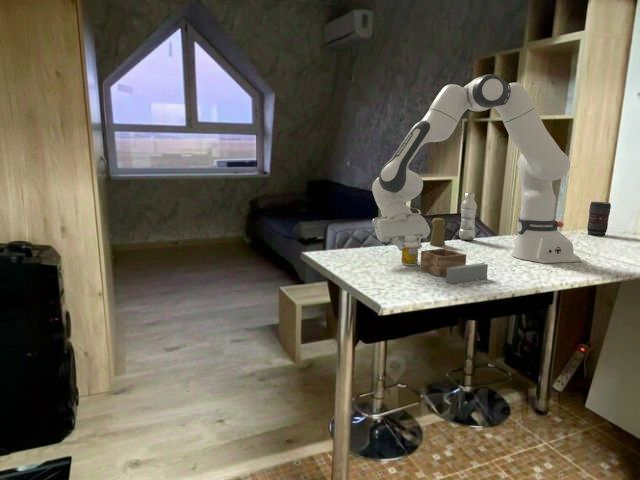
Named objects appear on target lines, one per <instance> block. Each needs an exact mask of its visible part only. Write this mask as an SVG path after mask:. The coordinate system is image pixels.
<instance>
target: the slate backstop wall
mask: <svg viewBox="0 0 640 480" xmlns="http://www.w3.org/2000/svg"><path fill="white" fill-rule="evenodd" d="M488 267H489V265H488V263H485V262H480V263H474V264H473V263H472V264H466V265H464V266H456V267H448V268H447V275H446V276H445V277H446V278H445V283H446V284H450V285H453V284H460V283H466V282H473V281H479V280H480V281H481V280H485V279H486V280H487V278H488Z"/></svg>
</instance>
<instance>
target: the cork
mask: <svg viewBox="0 0 640 480" xmlns="http://www.w3.org/2000/svg"><path fill="white" fill-rule="evenodd" d="M445 224H446V220H445V219H444V218H441V217H435V218H433V219H432V220H431V225H432V230H431V231H432V232H431V237H430V240H429V245H430V246H432V247H444V246H445V245H446V243H445V242H446V241H445V229H444V227H445Z"/></svg>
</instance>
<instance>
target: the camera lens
mask: <svg viewBox="0 0 640 480" xmlns="http://www.w3.org/2000/svg"><path fill="white" fill-rule="evenodd" d="M611 206H612V205H611V202H604V201H590V204H589V210H588V221H587V227H586V229H587V235H588V236H592V237H605V236H606V233H607V230H608V225H609V217H610V214H611V208H612V207H611Z"/></svg>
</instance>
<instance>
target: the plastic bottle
mask: <svg viewBox="0 0 640 480" xmlns="http://www.w3.org/2000/svg"><path fill="white" fill-rule="evenodd" d="M464 198H465V199H463V201H462V202H461V205H460V214H461V216H460V217H461V219H460V220H461V222H460V227H459V231H458V232H459V233H458V237H459V238H460V240H464V241H473V240H474V239H475V238H476V229H475V228H476V227H475V226H476V224H475V221H476V220H475V219H476V213H477V209H478V205H477V202H476V200H475V193H473V192H466V193H465V195H464Z"/></svg>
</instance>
